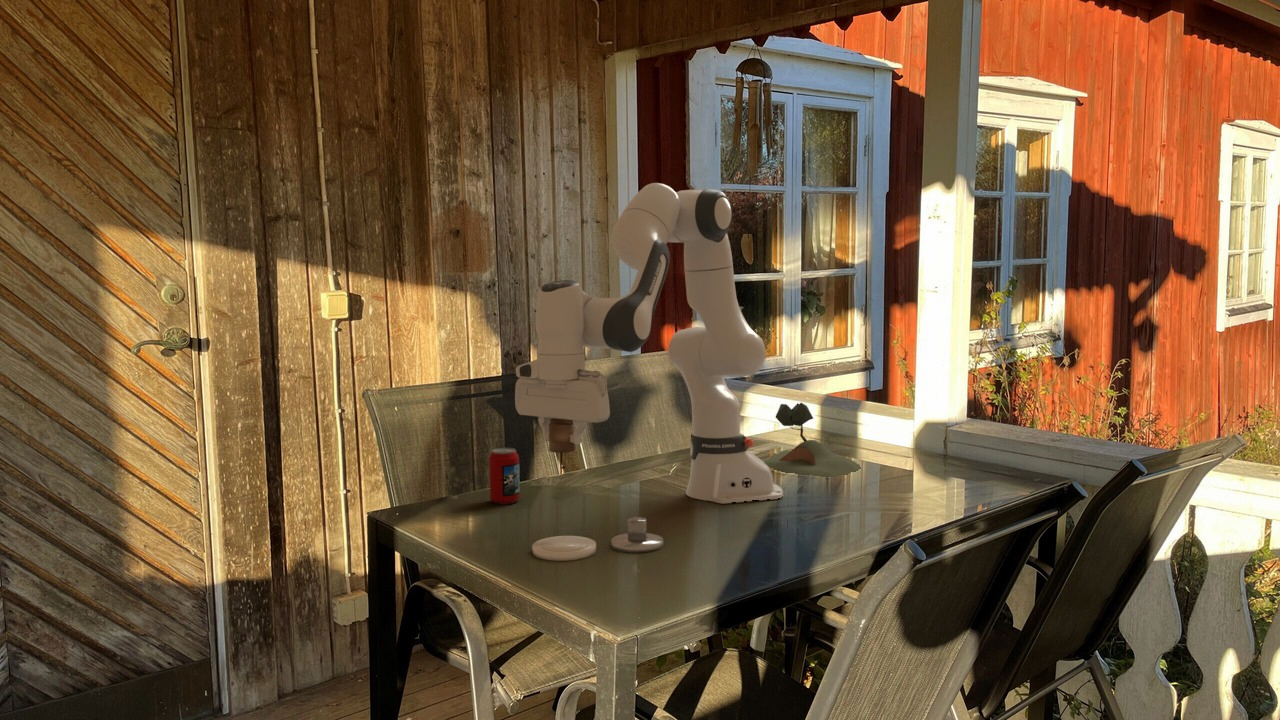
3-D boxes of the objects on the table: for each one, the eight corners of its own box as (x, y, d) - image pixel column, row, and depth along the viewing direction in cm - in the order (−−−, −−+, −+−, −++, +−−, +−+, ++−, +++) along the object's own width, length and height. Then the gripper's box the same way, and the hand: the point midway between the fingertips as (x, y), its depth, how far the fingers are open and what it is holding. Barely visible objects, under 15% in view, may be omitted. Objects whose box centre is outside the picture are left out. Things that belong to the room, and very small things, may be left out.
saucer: (594, 540, 186) (594, 533, 186) (597, 559, 175) (597, 551, 174) (533, 542, 185) (532, 535, 185) (531, 561, 173) (531, 554, 173)
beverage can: (514, 505, 214) (513, 453, 213) (486, 504, 216) (484, 452, 215) (524, 498, 221) (522, 447, 220) (496, 497, 222) (495, 446, 221)
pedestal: (660, 536, 189) (659, 511, 188) (666, 551, 179) (665, 525, 178) (609, 538, 188) (609, 513, 187) (613, 553, 178) (612, 527, 177)
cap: (579, 449, 179) (579, 418, 178) (565, 453, 175) (564, 422, 174) (558, 447, 181) (558, 416, 181) (544, 451, 177) (543, 420, 176)
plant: (788, 450, 278) (788, 389, 276) (893, 467, 252) (894, 400, 250) (721, 464, 258) (721, 399, 256) (828, 485, 232) (828, 413, 231)
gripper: (616, 369, 173) (617, 444, 175) (531, 364, 185) (532, 434, 186) (595, 373, 168) (596, 450, 169) (509, 367, 180) (510, 439, 181)
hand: (562, 442), depth 178 cm, fingers closed on cap, 5 cm apart
